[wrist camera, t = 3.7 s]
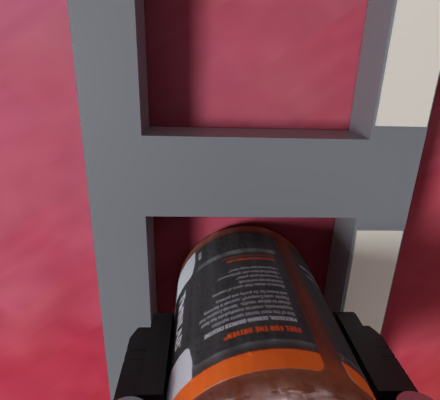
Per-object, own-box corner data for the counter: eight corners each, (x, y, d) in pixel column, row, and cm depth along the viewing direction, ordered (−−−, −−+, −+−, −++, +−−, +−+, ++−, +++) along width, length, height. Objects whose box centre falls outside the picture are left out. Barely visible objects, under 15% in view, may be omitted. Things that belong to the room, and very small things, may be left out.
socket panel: (464, -214, 11) (521, -275, 9) (347, 381, 19) (363, 417, 18) (63, -242, 10) (31, -313, 8) (122, 385, 19) (112, 423, 17)
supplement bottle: (151, 268, 16) (58, 634, 6) (259, 194, 15) (380, 478, 5) (227, 349, 18) (260, 737, 8) (328, 287, 17) (525, 641, 7)
